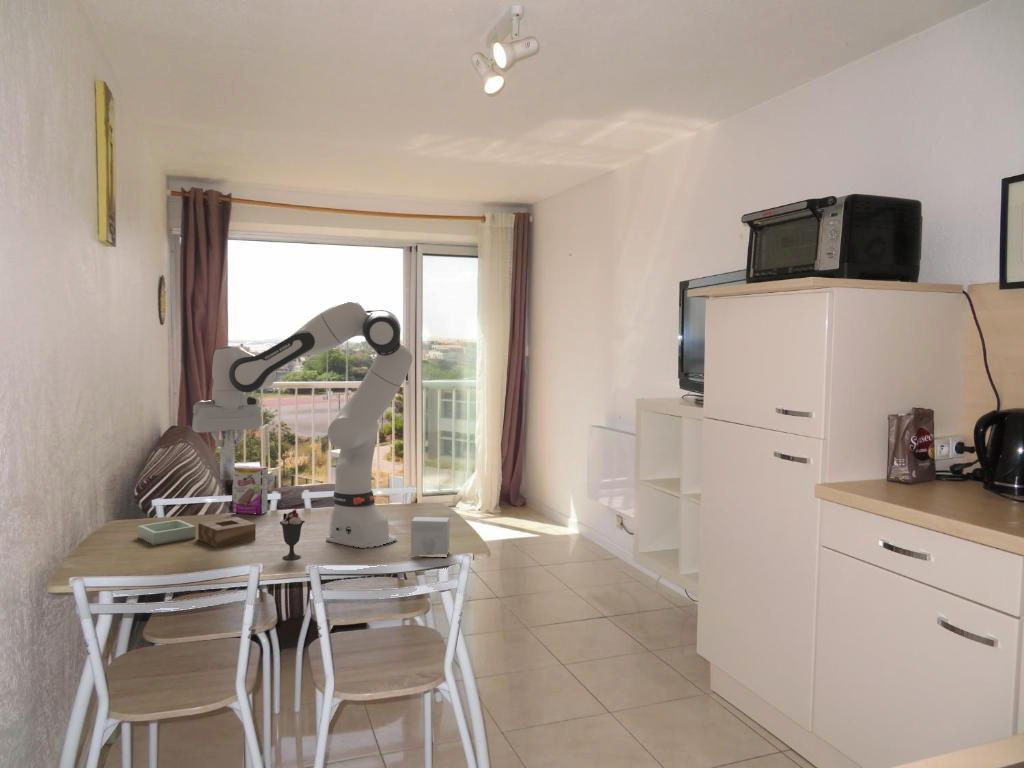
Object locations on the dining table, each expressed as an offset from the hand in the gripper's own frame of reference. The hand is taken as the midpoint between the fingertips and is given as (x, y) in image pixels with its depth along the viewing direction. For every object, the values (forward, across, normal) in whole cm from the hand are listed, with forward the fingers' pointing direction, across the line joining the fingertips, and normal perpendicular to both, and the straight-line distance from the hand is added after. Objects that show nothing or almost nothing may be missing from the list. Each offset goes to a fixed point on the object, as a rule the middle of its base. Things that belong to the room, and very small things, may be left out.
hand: (227, 445), depth 212 cm
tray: (+29, -12, +14) cm, 34 cm away
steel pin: (+10, 0, 0) cm, 10 cm away
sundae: (+29, +4, -30) cm, 42 cm away
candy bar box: (+29, +22, +28) cm, 46 cm away
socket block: (+29, 0, 0) cm, 29 cm away
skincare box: (+29, +34, -54) cm, 70 cm away
